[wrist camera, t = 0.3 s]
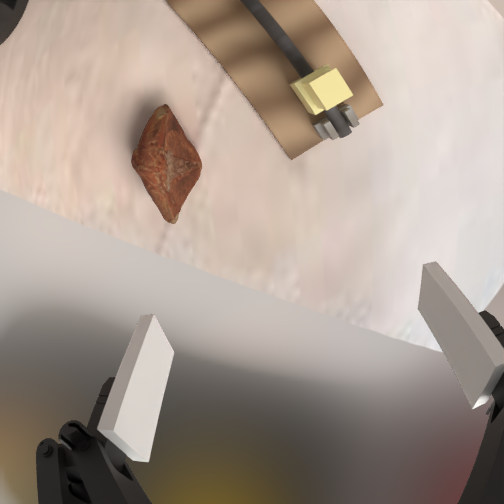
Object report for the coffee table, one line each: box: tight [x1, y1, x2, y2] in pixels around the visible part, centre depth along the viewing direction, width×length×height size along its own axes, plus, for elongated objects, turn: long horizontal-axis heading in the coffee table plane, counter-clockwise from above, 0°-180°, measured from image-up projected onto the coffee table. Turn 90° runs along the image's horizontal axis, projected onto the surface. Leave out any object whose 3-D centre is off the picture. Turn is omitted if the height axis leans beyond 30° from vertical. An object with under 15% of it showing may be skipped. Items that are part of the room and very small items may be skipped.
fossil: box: [131, 104, 202, 224], centre depth 34 cm, size 13×8×10 cm
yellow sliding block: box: [289, 64, 353, 115], centre depth 27 cm, size 4×4×8 cm
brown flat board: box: [167, 0, 383, 160], centre depth 27 cm, size 26×14×5 cm, turn 35°
